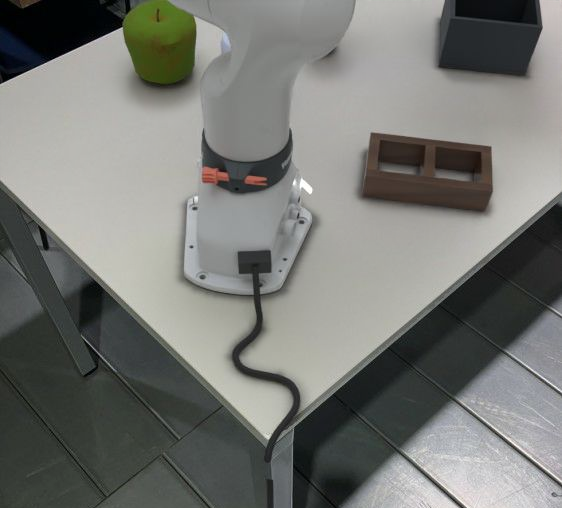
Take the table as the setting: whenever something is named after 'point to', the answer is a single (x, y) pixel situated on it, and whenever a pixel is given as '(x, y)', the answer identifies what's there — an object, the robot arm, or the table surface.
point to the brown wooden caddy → (429, 172)
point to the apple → (160, 41)
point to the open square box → (489, 35)
